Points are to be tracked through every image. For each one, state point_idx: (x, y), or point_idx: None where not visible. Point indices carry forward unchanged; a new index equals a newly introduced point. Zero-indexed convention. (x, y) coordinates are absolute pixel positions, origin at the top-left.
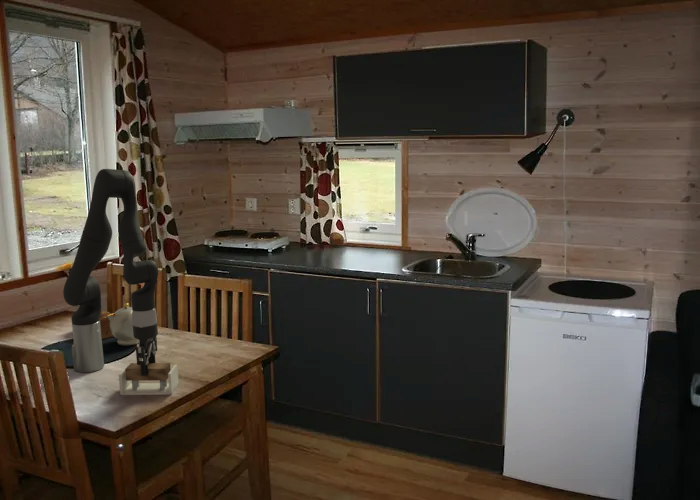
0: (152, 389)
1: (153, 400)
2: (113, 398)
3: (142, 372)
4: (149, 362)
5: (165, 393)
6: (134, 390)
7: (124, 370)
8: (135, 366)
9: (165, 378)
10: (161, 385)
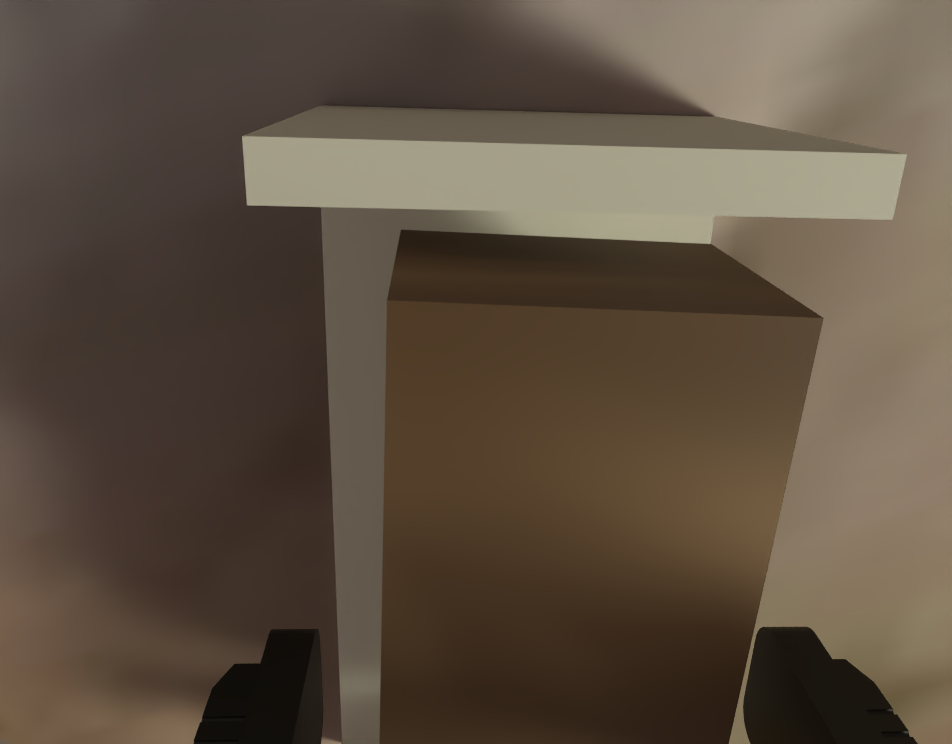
0: None
1: (163, 603)
2: (187, 28)
3: (209, 724)
4: (795, 705)
5: (342, 692)
6: None
7: (525, 204)
8: (547, 508)
9: None
10: None
